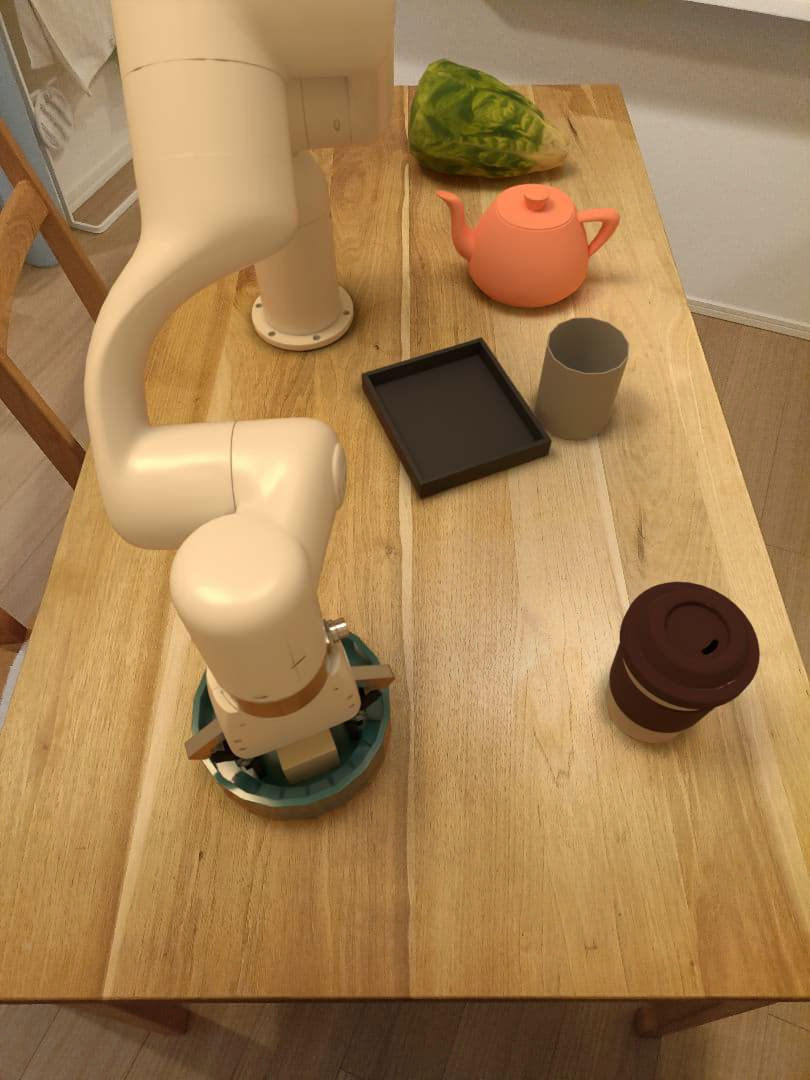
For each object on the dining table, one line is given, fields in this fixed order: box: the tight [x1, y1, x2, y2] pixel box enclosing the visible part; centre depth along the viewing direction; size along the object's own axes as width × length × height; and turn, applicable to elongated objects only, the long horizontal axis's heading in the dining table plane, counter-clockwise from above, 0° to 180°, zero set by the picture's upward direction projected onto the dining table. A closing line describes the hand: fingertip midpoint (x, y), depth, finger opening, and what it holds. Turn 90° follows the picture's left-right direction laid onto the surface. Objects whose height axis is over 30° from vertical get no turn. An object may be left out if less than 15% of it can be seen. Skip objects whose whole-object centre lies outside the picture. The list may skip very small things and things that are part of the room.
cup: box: [533, 316, 630, 441], centre depth 83 cm, size 8×8×10 cm
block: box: [276, 728, 341, 785], centre depth 64 cm, size 4×4×4 cm
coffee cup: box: [604, 581, 761, 744], centre depth 62 cm, size 10×10×15 cm
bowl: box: [190, 630, 393, 822], centre depth 65 cm, size 16×16×5 cm
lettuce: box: [407, 58, 570, 179], centre depth 108 cm, size 14×23×13 cm, turn 81°
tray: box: [360, 336, 553, 500], centre depth 85 cm, size 17×15×2 cm
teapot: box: [435, 183, 621, 309], centre depth 94 cm, size 22×15×12 cm
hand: (304, 742), depth 65 cm, fingers open, 7 cm apart
